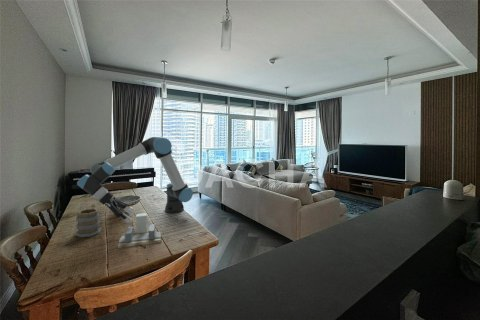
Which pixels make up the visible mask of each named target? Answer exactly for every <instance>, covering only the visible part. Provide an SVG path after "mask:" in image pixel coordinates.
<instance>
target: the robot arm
mask: <svg viewBox="0 0 480 320" xmlns="http://www.w3.org/2000/svg"><path fill="white" fill-rule="evenodd" d="M151 153H153V154H154V155H155V157H156V159H159V161H160V163H161V164H162V166H163V169H164V171H165V173H166V176H167V177H168V179H169V181H170V182H169V183H167V184H166V203H165V207H164V212H166V213H168V214H169V213H170V214H175V213H176V212H177V213H180V212H179V211H181V212H183V211H184V209H185V207H184V204H183V203H188V202H189V201H191V200H192V198H193V195H194V193H193V192H194V191H193V190H192V188H191V187H189V186H188V184H187V182H186V181H184V180H183V177H182V176H181V173H180V171H179V169H178V166H177V165H176V162H175V160H174V157H173V156H172V153H173V151H172V142H171V140H169V139H168V138H167V137H164V136H152V137H149V138H147V139H145V140H143V141H141V142H139V143H138V145H136V146H134V147H131V148H130V149H127V150H125V151H123V152H120V153H118V154H117V155H116V154H115V156H112V157H110V158H108V159H105V160H104V161H101V162H99V163H95V164H93V165H91V167H90V173H91V175H90V174H85V175H83V176H82V177H81V178H80V179H78V181H77V182H76V185H77V186H78V187H80V188H81V190H83V191H85V192H86V193H87V194H88V195H90V196H91V197H93V199H96V200H97V201H99V203H101V204H102V205H106V207H107V208H108V209H109V210H110V211H111V212H112V213H113V214H114V215H115V216H116V218H121V219H122V220H123V221H124V222H126V223H127V224H130V223H131V222H132V221H133V218H131V216H133V215H134V214H135V211H133V209H131V208H130V207H129V206H128V203H125V202H124V201H122V200H120V199H118V198H117V197H116V196H114V194H113V193H112V192H110V191H108V189H107V188H105V187H104V186H103V185H102V184H103V182H105V181H106V180H107V179H108V178H109V177H110V176H112V174H114V172H116V169H118V168H119V167H121V166H123V165H125V164H127V163H130V162H131V161H133V160H137V158H140V157H141V156H147V155H149V154H151ZM120 208H121V209H123V211H124V212H122V210H121V209H120ZM182 210H183V211H182ZM125 212H126V213H128V214H129V215H130V216H129V215H127V214H126V213H125Z"/></svg>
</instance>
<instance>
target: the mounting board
mask: <svg viewBox="0 0 480 320" xmlns="http://www.w3.org/2000/svg"><path fill="white" fill-rule="evenodd" d="M161 242H162V231H155V238H154V239H149V232H146V233H138V234H137V233H136V234H134V235H133V238H132V241H131V242H126V243H125V235H122V236H120V239H118V245H117V248H118V249H121V248H127V247H136V246H143V245H144V246H145V245H151V244H152V245H153V244H158V243H161Z"/></svg>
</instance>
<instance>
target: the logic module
mask: <svg viewBox="0 0 480 320" xmlns="http://www.w3.org/2000/svg"><path fill="white" fill-rule="evenodd" d="M135 218H136V219H135V222H136V223H135V224H136V234H144V233H148V213H147V212H146V213H143V212H142V213H137V214H136V216H135Z"/></svg>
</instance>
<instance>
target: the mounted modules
mask: <svg viewBox="0 0 480 320" xmlns="http://www.w3.org/2000/svg"><path fill="white" fill-rule="evenodd" d="M155 232H156V224H155V223H152V224H149V226H148V233H149V239H154V238H155ZM133 235H135V234H134V226H127V229H126V230H125V233H124V236H125V243H126V242H131V241H132V238H133Z"/></svg>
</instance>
